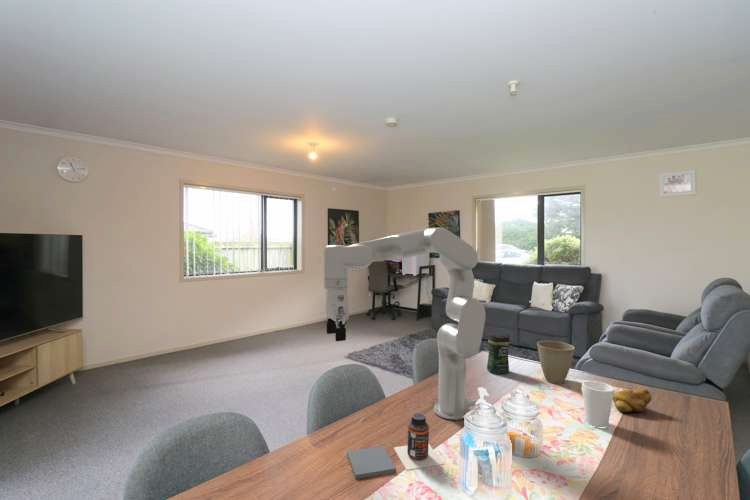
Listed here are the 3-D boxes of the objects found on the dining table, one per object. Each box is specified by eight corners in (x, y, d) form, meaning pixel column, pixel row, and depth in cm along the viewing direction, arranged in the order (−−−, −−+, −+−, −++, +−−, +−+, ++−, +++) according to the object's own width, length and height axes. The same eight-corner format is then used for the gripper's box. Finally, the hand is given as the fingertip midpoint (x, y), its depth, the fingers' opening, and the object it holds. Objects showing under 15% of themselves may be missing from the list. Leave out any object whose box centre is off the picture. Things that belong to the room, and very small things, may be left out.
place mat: (383, 449, 107) (383, 445, 107) (395, 472, 97) (395, 468, 97) (347, 454, 104) (347, 451, 104) (355, 478, 94) (355, 475, 94)
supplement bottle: (414, 463, 100) (415, 422, 100) (403, 452, 106) (403, 413, 105) (432, 457, 103) (433, 418, 103) (420, 447, 108) (421, 409, 108)
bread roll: (628, 417, 129) (628, 395, 128) (603, 405, 138) (603, 384, 138) (654, 412, 133) (654, 391, 132) (628, 401, 142) (628, 381, 142)
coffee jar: (493, 375, 168) (494, 335, 168) (484, 369, 176) (485, 331, 175) (512, 373, 171) (512, 334, 170) (502, 368, 178) (502, 330, 178)
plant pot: (580, 387, 155) (581, 350, 155) (545, 386, 155) (546, 349, 155) (563, 374, 170) (563, 340, 170) (531, 374, 170) (531, 340, 170)
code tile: (427, 442, 111) (427, 442, 111) (444, 463, 100) (444, 463, 100) (393, 447, 108) (393, 447, 108) (406, 470, 98) (406, 469, 98)
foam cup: (577, 423, 124) (578, 385, 123) (584, 414, 131) (585, 378, 130) (610, 434, 117) (611, 394, 117) (615, 423, 124) (616, 385, 124)
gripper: (356, 286, 110) (356, 342, 111) (338, 280, 126) (338, 329, 126) (332, 287, 107) (332, 345, 108) (317, 281, 123) (317, 331, 123)
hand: (335, 336), depth 117 cm, fingers open, 9 cm apart
